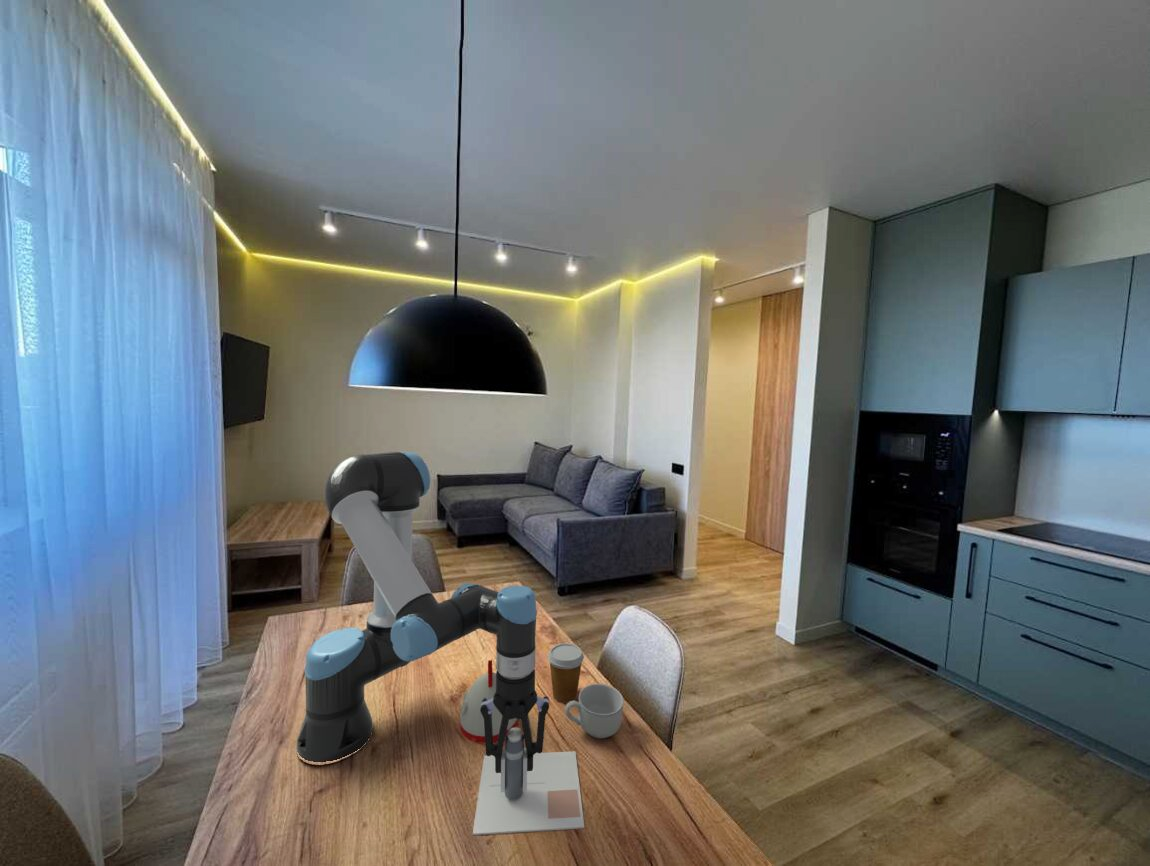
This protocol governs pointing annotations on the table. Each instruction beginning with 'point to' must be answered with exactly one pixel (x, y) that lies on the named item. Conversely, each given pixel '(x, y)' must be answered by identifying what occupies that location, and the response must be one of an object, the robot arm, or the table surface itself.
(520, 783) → the marker
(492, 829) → the paper
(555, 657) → the disposable coffee cup
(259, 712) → the table surface
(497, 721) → the kitchen timer
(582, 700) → the teacup
